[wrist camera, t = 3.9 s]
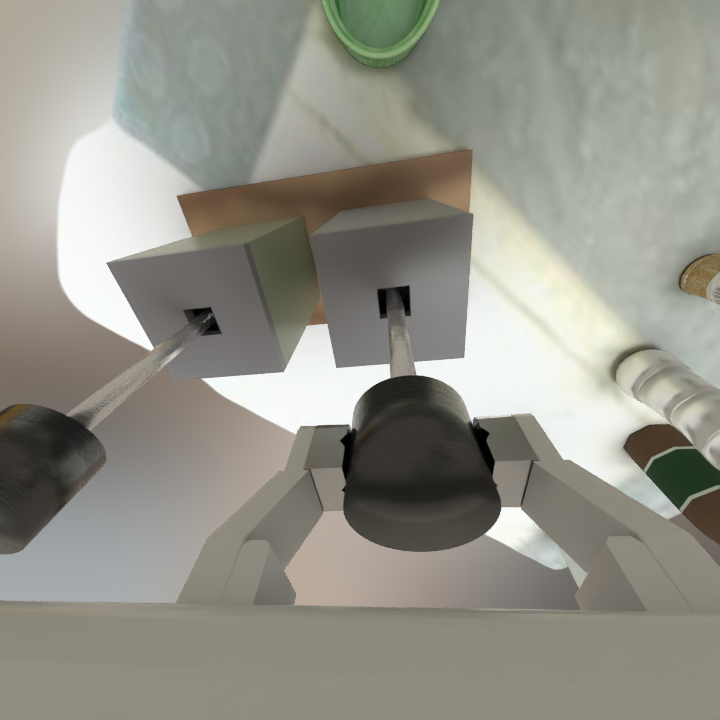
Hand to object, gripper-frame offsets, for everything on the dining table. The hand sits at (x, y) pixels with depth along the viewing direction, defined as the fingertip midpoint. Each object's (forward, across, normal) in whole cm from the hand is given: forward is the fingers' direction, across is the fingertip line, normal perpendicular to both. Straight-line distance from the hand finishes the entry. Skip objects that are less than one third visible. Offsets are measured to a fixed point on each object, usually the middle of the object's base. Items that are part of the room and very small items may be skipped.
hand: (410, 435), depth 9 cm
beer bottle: (+29, -39, +34) cm, 59 cm away
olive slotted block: (+28, +13, 0) cm, 31 cm away
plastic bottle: (+29, -32, +19) cm, 47 cm away
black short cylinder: (+18, 0, 0) cm, 18 cm away
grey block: (+28, 0, 0) cm, 28 cm away
